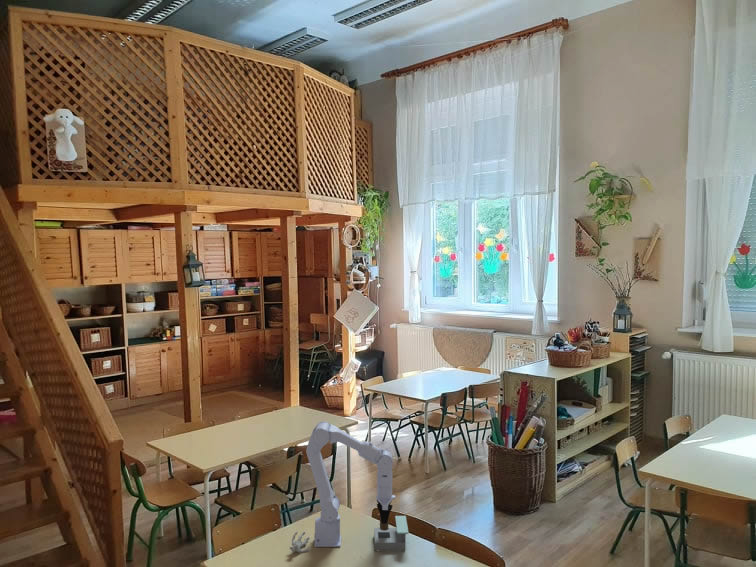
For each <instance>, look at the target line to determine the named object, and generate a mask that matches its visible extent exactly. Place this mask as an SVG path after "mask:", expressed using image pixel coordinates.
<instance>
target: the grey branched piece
mask: <svg viewBox="0 0 756 567" xmlns="http://www.w3.org/2000/svg"><path fill="white" fill-rule="evenodd" d="M298 533H299V532H298V531H295V533H294V534H293V536H292V538H291V547H289V550H291V552H292V553H293V554H294V553H295V552H297V553H301V554H302V553H305V552H308V551H309V550H311V548H310V547H307V548H305V549H301V548H302V547H305V545H306V544H307V541H309V540H310V537H309V536H308V537H306V538H305V539H304V541H302V539H303V536H304V535H306V531H303V532H302V533H300V535H299V536H298V538H297V540H295V539H296V535H298ZM301 541H302V542H301Z"/></svg>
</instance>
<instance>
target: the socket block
mask: <svg viewBox="0 0 756 567" xmlns="http://www.w3.org/2000/svg"><path fill="white" fill-rule="evenodd" d="M394 517H395V526H396V527H388V530H385V531H383V530H380V527H373V529H374V530H373V533H374V534H373V535H374V536H373V538H374V542H373V543H374V551H375V550H394V551H393V552H396V551H395V550H397V552H398V551H399V552H400V551H401V552H402V551H404V552H405V551H406V541H407V540H406V536H407V535H409V528H408V522H407V516H406V515H395V516H394Z"/></svg>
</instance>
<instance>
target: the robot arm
mask: <svg viewBox="0 0 756 567" xmlns="http://www.w3.org/2000/svg"><path fill="white" fill-rule="evenodd" d="M329 441H330V442H329ZM328 442H329V444H330V445H331V444H334V443H340V444H342V445H345V446H347V447H349V448H351V449H353V450H355V451H357V453H358V455H359V457H361V458H363V459H365V460H367V461H369V462H370V463H372V464H375V465H376V467H377V472H376V497H375V499H376V502H377V504H376V507H377V508H376V509H377V510H378V512H379V518H380V517H381V523H382V524H387V523H388V524H389V521H388V518H389V519H390V513H391V511H392V510H393V504H391V503H392V501H393V500H396V495H395V494H393V467H394V461H393V459H394V458H393V455H392V453H391V452H390V451H389V450H388V449H384V448H379V447H378V446H376V445H374V444H373V442H372V441H368V440H367V441H362V442H361V441H360V440H358V439H357V438H355V437H354V436H351V435H350V434H348V433H347V432H345V431H344V430H342V429H340V428H339V427H338V426H336V425H334V424H330V422H328V421H325V420H324V421H320V422H319V423H317V424H316V426H315V427H314V429H313V430H312V433H311V435H310V436H309V439H308V443H307V446H306V450H305V452H306V455H307V456H306V457H307V459H308V463H309V465H310V469H311V472H312V475H313V479H314V482H315V485H316V489H317V492H318V497H319V505H320V516H318V517H316V518H315V520H314V521H315V522H314V535H313V536H314V537H313V538H314V547H316V548H317V547H318V548H319V547H320V548H324V547H325V548H327V547H328V548H330V547H331V548H332V547H334V548H335V547H341V545H342V535H341V515H340V514H339V510H340V505H341V503H340V501H341V500H340V499H339V498H338V496H336V494H335V490H333V489H332V485H331V483H330V482H331V481H330V479H329V476H328V472H327V469H326V466H325V463H324V458H323V456H322V453H321V451H322V449H323V447H324V446H325V445H327V443H328Z"/></svg>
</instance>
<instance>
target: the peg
mask: <svg viewBox="0 0 756 567" xmlns="http://www.w3.org/2000/svg"><path fill="white" fill-rule="evenodd" d="M389 520H390V517H389V518H388V523H387V524H382V523H381V517H380V516H379V528H380V530H383V531H385V530H388V528H389Z"/></svg>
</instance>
